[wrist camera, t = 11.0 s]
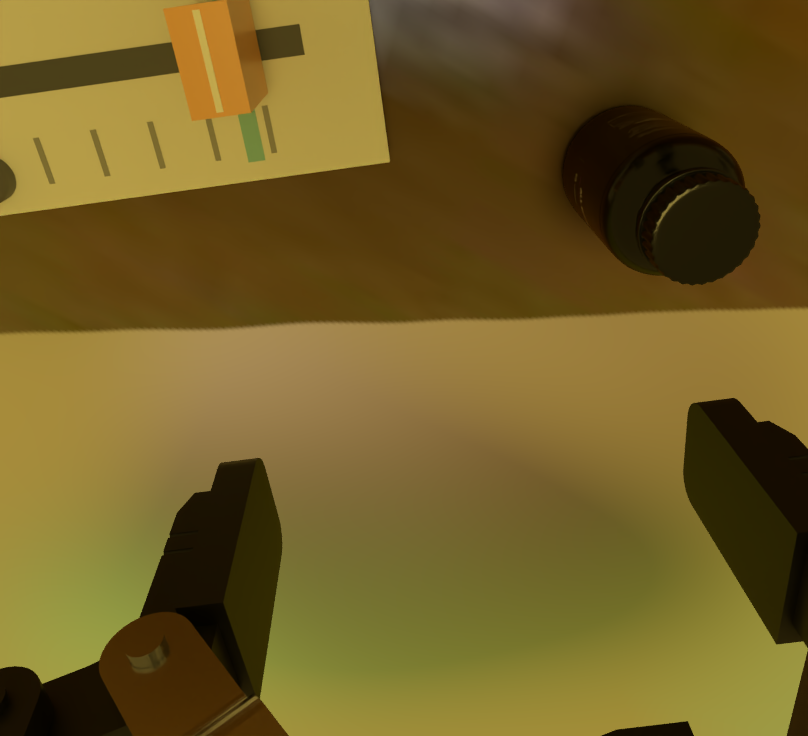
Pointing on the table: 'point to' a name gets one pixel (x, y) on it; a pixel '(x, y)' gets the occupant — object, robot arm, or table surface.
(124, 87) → the console
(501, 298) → the table surface
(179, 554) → the robot arm
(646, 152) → the supplement bottle
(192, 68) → the fader cap
